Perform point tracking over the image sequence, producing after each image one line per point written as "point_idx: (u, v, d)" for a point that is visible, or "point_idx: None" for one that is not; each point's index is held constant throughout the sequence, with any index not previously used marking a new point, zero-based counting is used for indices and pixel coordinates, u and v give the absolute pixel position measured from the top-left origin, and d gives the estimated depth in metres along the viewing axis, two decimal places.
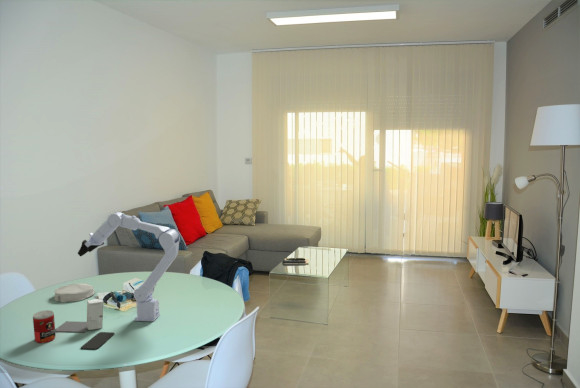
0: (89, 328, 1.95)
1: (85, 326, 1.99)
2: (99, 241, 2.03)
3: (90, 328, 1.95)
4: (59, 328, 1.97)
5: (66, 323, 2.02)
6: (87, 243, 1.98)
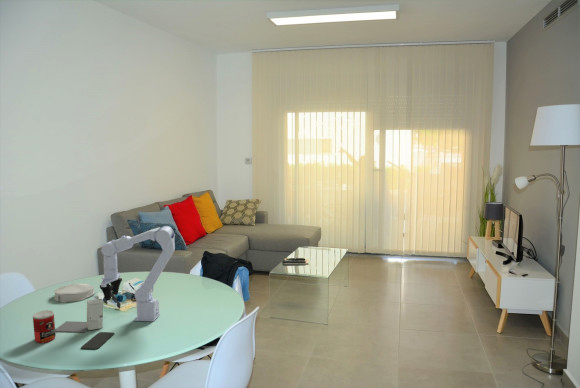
0: (89, 328, 1.95)
1: (85, 326, 1.99)
2: (112, 276, 2.03)
3: (90, 328, 1.95)
4: (59, 328, 1.97)
5: (66, 323, 2.02)
6: (102, 284, 1.98)
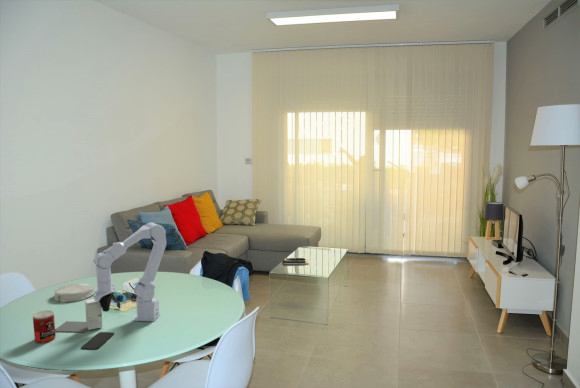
0: (89, 328, 1.95)
1: (85, 326, 1.99)
2: (106, 289, 1.93)
3: (90, 328, 1.95)
4: (59, 328, 1.97)
5: (66, 323, 2.02)
6: (96, 297, 1.89)
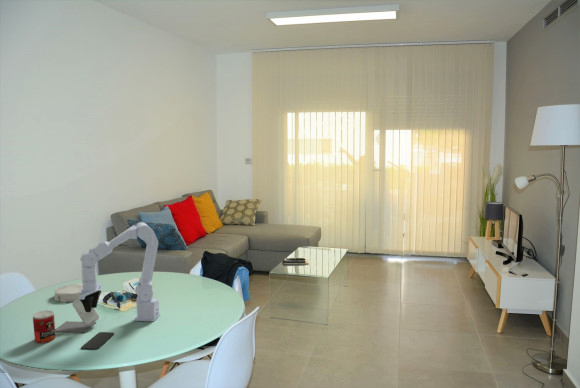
0: (86, 321, 1.96)
1: (85, 326, 1.99)
2: (91, 288, 1.94)
3: (87, 321, 1.96)
4: (59, 328, 1.97)
5: (66, 323, 2.02)
6: (80, 296, 1.89)
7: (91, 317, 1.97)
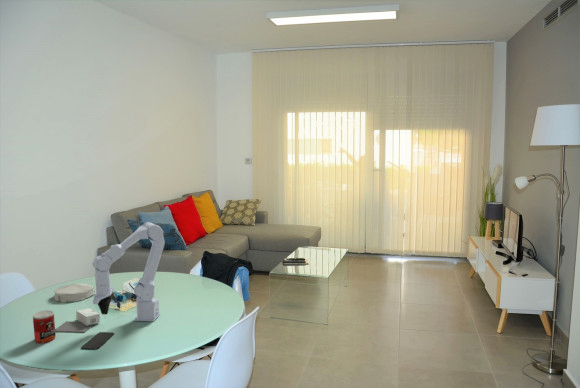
0: (87, 316, 1.99)
1: (85, 326, 1.99)
2: (105, 292, 1.94)
3: (88, 315, 1.99)
4: (59, 328, 1.97)
5: (66, 323, 2.02)
6: (94, 301, 1.89)
7: (92, 314, 2.01)
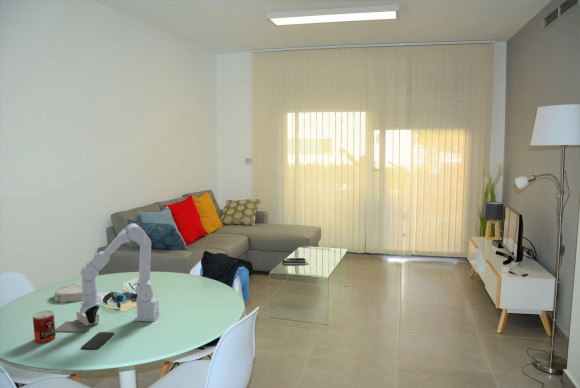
0: None
1: (85, 326, 1.99)
2: (92, 302, 1.95)
3: None
4: (59, 328, 1.97)
5: (66, 323, 2.02)
6: (81, 310, 1.90)
7: None
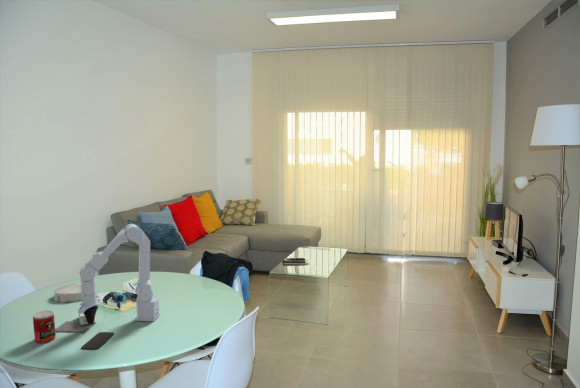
0: (81, 315, 2.00)
1: (85, 326, 1.99)
2: (91, 302, 1.95)
3: (82, 315, 2.00)
4: (59, 328, 1.97)
5: (66, 323, 2.02)
6: (80, 310, 1.90)
7: None
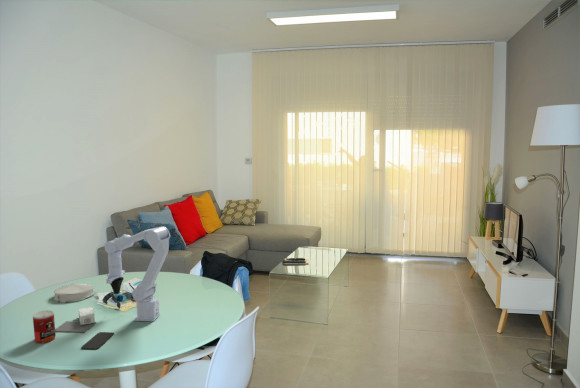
0: (81, 315, 2.00)
1: (85, 326, 1.99)
2: (117, 273, 2.09)
3: (82, 315, 2.00)
4: (59, 328, 1.97)
5: (66, 323, 2.02)
6: (107, 280, 2.04)
7: (87, 314, 2.01)
